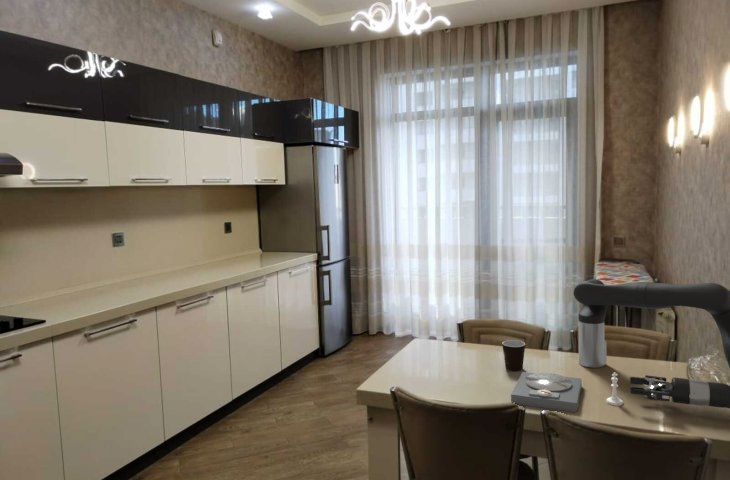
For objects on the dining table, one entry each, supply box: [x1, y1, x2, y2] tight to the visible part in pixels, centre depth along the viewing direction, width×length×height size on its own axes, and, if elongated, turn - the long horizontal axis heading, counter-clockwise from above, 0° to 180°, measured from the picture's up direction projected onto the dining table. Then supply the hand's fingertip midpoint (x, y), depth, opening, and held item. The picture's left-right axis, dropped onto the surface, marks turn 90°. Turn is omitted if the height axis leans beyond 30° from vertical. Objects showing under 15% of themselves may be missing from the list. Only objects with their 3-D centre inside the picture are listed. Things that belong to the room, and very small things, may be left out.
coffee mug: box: [501, 339, 526, 372], centre depth 202 cm, size 12×9×10 cm
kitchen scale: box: [510, 371, 583, 413], centre depth 174 cm, size 22×20×4 cm
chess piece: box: [605, 372, 624, 407], centre depth 166 cm, size 5×5×10 cm
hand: (630, 384), depth 164 cm, fingers open, 8 cm apart
